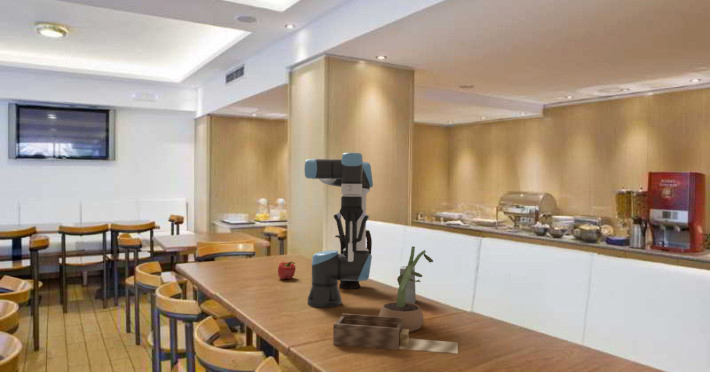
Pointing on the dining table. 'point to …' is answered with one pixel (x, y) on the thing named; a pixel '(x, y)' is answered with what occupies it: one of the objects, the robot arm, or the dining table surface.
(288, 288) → the dining table surface
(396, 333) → the box
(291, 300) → the dining table surface
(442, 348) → the lid
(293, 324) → the dining table surface
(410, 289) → the skincare box
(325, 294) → the robot arm
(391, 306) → the potted plant
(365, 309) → the dining table surface
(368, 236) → the jug
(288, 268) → the vegetable
